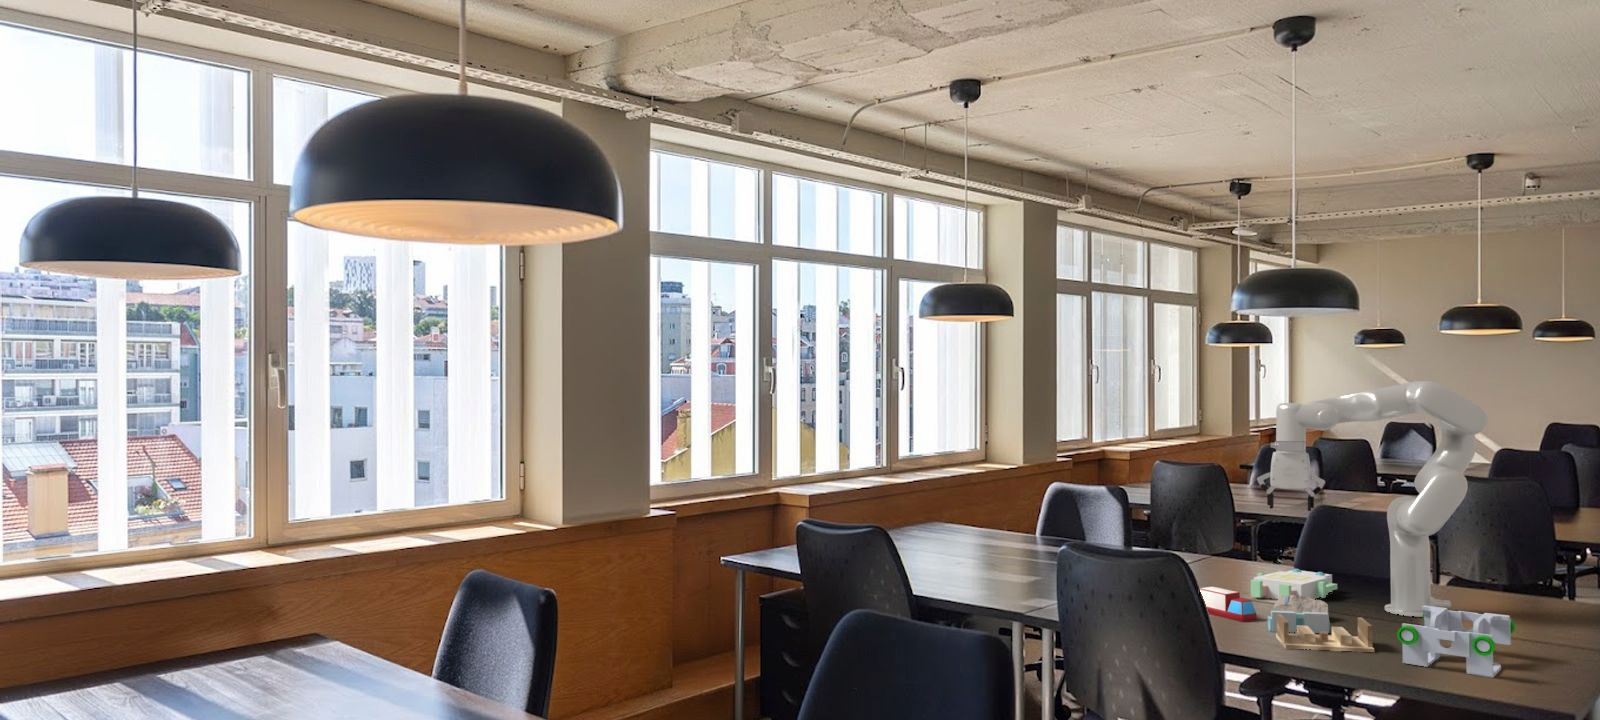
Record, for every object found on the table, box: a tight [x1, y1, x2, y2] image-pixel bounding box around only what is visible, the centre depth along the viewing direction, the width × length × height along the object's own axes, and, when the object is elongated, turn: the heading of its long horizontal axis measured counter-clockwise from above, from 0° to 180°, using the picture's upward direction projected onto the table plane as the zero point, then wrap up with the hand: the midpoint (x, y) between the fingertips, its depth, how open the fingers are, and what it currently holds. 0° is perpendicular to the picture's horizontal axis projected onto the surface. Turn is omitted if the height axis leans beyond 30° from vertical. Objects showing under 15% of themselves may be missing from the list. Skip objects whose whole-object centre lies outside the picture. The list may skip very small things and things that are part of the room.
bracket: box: [1396, 605, 1516, 679], centre depth 251 cm, size 19×25×10 cm
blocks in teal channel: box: [1267, 610, 1331, 634], centre depth 280 cm, size 14×4×5 cm, turn 77°
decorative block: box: [1250, 568, 1338, 600], centre depth 324 cm, size 26×6×20 cm
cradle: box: [1275, 614, 1375, 653], centre depth 266 cm, size 19×12×6 cm, turn 77°
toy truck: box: [1199, 586, 1258, 623], centre depth 299 cm, size 6×15×7 cm, turn 27°
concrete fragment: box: [1272, 595, 1330, 621], centre depth 295 cm, size 7×14×6 cm, turn 44°
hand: (1290, 509), depth 305 cm, fingers open, 9 cm apart
